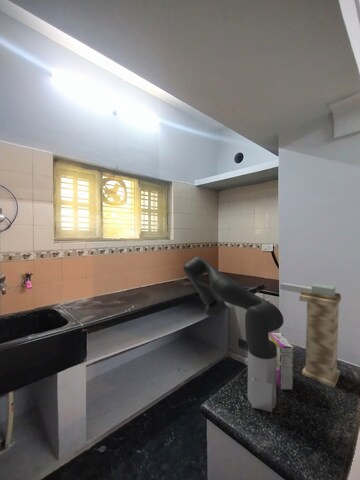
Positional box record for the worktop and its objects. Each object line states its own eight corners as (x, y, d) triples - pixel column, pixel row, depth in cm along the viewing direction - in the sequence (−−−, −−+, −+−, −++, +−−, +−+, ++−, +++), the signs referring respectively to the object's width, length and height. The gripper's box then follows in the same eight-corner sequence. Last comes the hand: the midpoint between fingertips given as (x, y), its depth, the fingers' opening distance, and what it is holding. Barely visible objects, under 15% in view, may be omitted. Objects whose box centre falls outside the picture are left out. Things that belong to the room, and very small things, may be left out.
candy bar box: (268, 370, 92) (268, 332, 91) (280, 370, 92) (280, 332, 91) (279, 390, 81) (280, 346, 80) (293, 390, 81) (294, 346, 80)
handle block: (335, 296, 87) (335, 286, 87) (332, 299, 84) (332, 289, 83) (283, 287, 101) (283, 278, 100) (279, 289, 97) (279, 280, 97)
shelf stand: (339, 373, 90) (342, 292, 88) (334, 387, 82) (337, 299, 80) (305, 360, 98) (307, 287, 97) (297, 372, 90) (299, 292, 89)
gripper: (224, 294, 112) (250, 283, 102) (238, 288, 122) (263, 278, 112) (230, 309, 110) (258, 299, 100) (244, 301, 120) (270, 292, 110)
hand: (260, 288), depth 106 cm, fingers open, 8 cm apart
